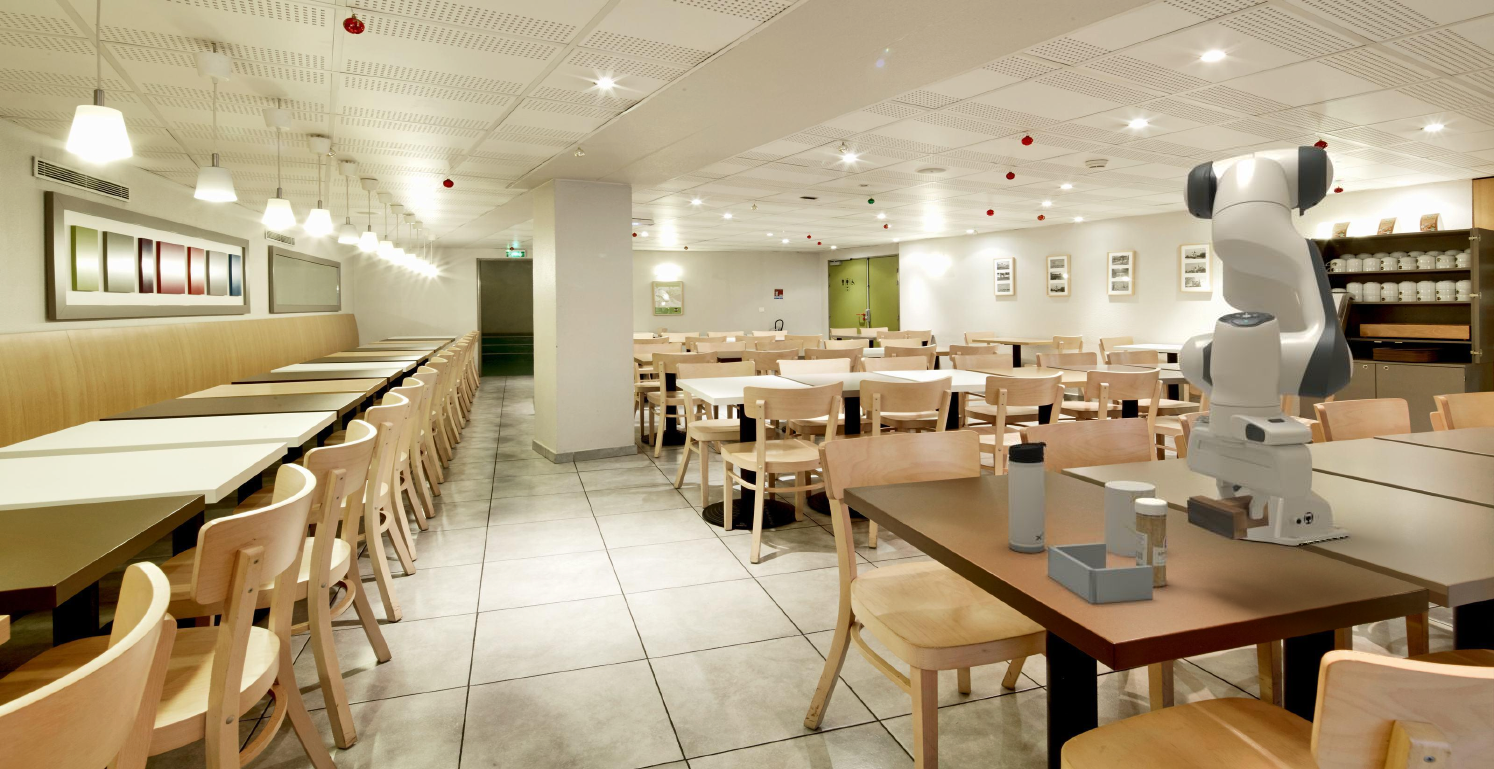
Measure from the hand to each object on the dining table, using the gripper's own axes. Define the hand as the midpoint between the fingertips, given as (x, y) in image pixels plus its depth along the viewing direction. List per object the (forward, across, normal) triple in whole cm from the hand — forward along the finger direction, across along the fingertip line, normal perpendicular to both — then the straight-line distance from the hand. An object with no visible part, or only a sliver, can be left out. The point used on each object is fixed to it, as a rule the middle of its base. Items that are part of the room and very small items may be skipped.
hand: (1241, 513), depth 111 cm
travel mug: (+13, -28, -20) cm, 37 cm away
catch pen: (+12, -7, -18) cm, 23 cm away
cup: (+13, -23, -2) cm, 27 cm away
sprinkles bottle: (+13, -7, -10) cm, 18 cm away
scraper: (+2, 0, -1) cm, 2 cm away
